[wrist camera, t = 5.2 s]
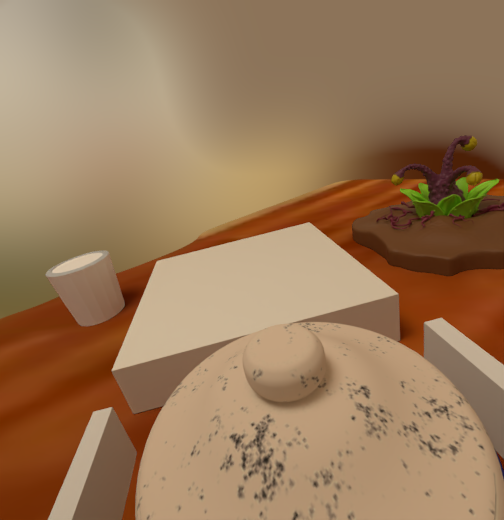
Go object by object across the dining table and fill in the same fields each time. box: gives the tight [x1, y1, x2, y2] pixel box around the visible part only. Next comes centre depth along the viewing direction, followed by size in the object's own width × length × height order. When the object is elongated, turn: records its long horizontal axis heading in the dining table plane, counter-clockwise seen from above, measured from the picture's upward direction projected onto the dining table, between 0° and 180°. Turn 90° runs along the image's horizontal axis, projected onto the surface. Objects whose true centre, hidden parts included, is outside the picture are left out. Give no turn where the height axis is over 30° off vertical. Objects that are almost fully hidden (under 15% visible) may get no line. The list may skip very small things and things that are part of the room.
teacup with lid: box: [135, 322, 504, 520], centre depth 11 cm, size 12×9×12 cm
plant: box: [352, 136, 504, 276], centre depth 35 cm, size 20×20×11 cm
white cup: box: [46, 251, 125, 326], centre depth 37 cm, size 7×7×7 cm
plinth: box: [112, 223, 400, 414], centre depth 31 cm, size 20×20×4 cm
